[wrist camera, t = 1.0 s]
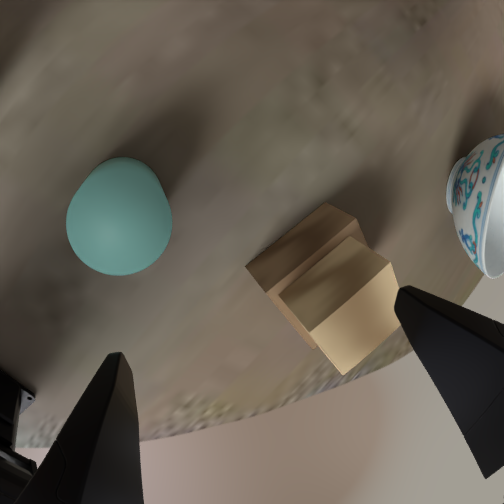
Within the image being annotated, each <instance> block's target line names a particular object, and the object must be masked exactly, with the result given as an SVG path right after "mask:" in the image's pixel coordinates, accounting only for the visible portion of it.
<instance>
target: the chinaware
mask: <svg viewBox="0 0 504 504" xmlns="http://www.w3.org/2000/svg"><path fill="white" fill-rule="evenodd" d="M446 200H447V206H448V209H449V211H450V212H451V213H452V214H453V219H454V224H455V228H456V231H457V234H458V237H459V240H460V242H461V244H462V246H463V248H464V249H465V251H466V253H467V254H468V256H469V257H470V258H471V260H472V261H473V262H474V263H475V265H476V266H477V267H478V268H479V269H480V270H481V271H482V272H483V273H484V274H485V275H487V276H488V277H489V278H498V277H499V276H501V275H502V274H504V134H500V135H496V136H493V137H491V138H488V139H486V140H485V141H483V142H481V143H480V144H479V145H477V146H476V147H475V148H474V149H473V150H472V151H471V152H470V153H469V154H468V155H467V157H463V158H461V159H459V160H458V161H457V162H456V164H455V165H454V167H453V169H452V171H451V173H450V176H449V179H448V183H447V190H446Z"/></svg>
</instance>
